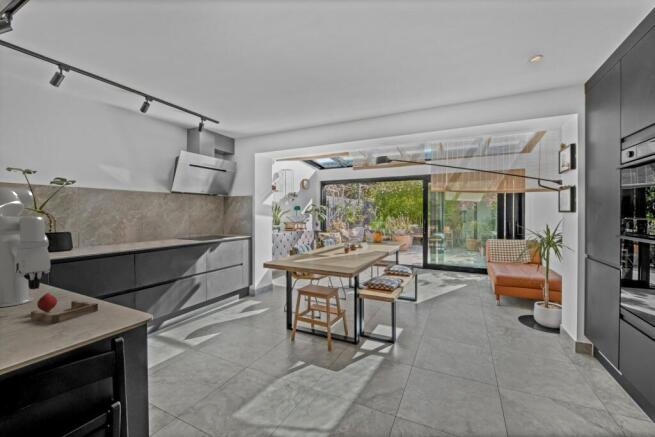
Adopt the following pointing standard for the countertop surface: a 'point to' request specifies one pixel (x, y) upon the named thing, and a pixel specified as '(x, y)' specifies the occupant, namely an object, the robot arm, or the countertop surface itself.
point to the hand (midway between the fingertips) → (34, 288)
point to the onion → (47, 302)
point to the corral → (78, 310)
